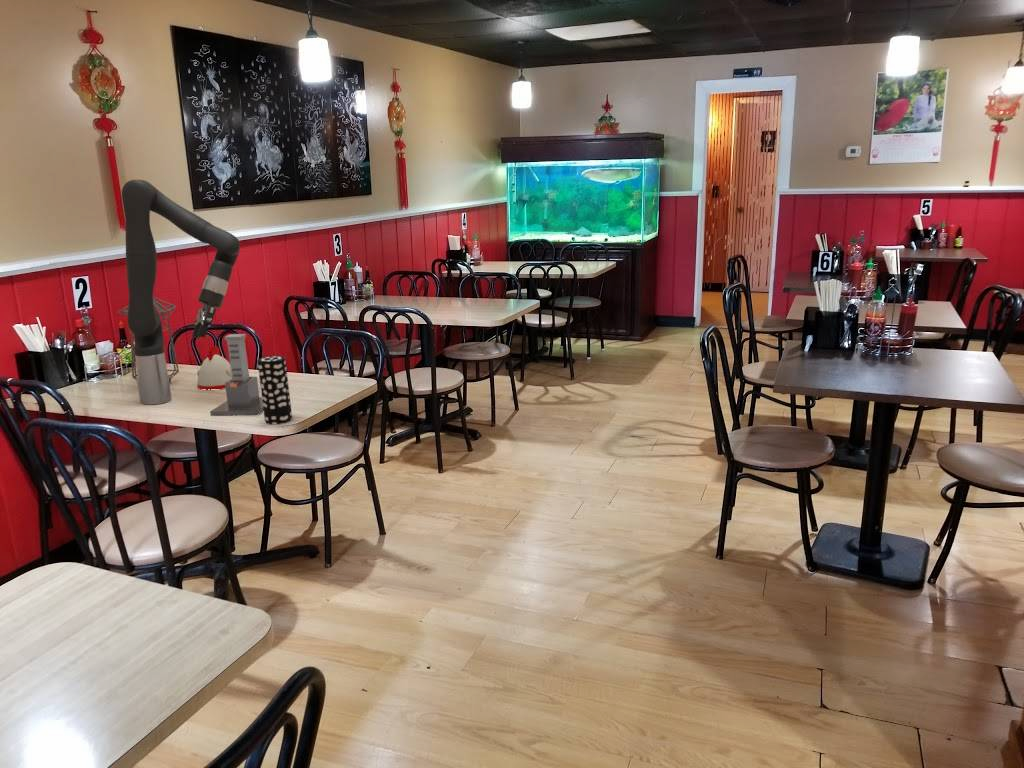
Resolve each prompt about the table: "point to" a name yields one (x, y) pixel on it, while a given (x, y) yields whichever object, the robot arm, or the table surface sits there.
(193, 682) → the table surface
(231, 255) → the robot arm
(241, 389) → the stand base
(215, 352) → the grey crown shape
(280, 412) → the white-spotted black cylinder
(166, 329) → the geometric lantern
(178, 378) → the table surface
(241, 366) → the stand post
